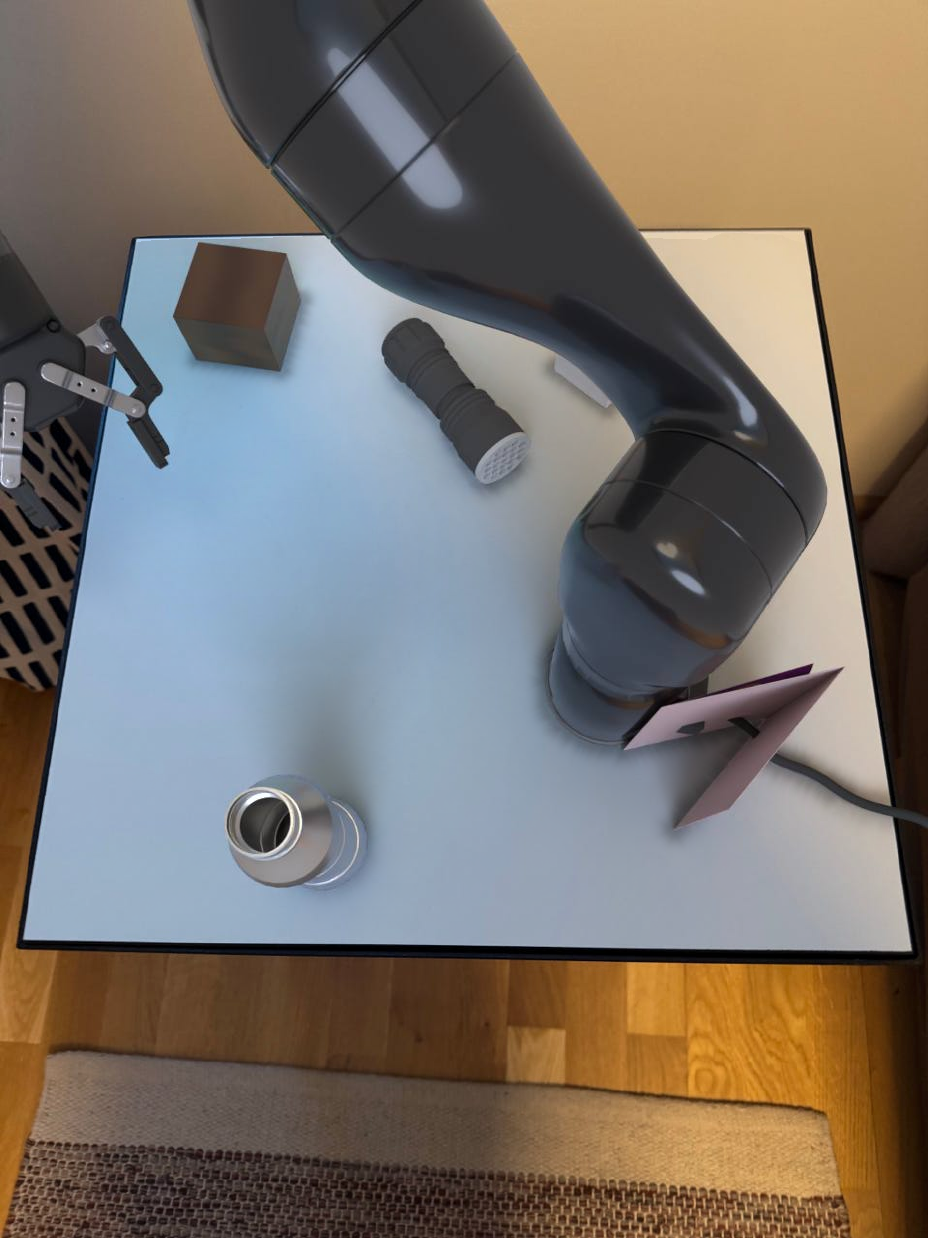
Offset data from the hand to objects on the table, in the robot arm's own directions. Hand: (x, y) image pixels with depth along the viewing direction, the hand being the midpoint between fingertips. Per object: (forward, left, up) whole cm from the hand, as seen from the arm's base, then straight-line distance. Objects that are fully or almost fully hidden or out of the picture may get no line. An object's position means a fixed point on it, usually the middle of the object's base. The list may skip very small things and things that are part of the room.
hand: (110, 496), depth 60 cm
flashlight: (-22, -17, -11) cm, 30 cm away
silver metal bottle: (-19, +21, -11) cm, 30 cm away
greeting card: (-46, +10, -11) cm, 48 cm away
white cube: (-34, -24, -11) cm, 43 cm away
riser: (-1, -23, -11) cm, 25 cm away
